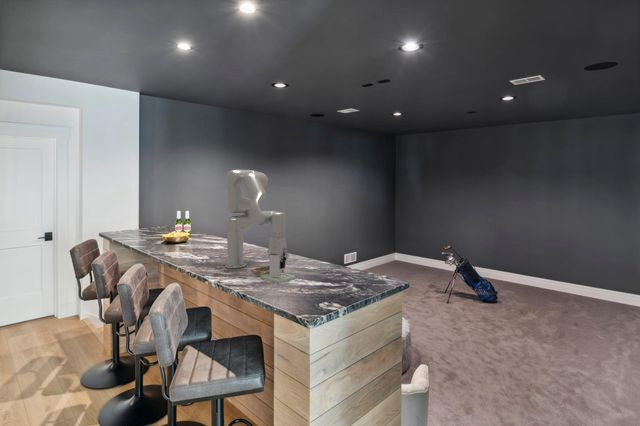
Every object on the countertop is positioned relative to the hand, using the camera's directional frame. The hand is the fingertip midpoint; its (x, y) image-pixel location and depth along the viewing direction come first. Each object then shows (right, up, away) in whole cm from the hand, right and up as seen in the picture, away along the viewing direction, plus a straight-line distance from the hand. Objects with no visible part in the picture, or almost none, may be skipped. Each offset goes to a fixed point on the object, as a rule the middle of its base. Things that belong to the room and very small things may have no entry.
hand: (277, 266), depth 203 cm
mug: (0, -5, 0) cm, 5 cm away
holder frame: (-7, -5, +13) cm, 16 cm away
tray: (0, -6, 0) cm, 6 cm away
